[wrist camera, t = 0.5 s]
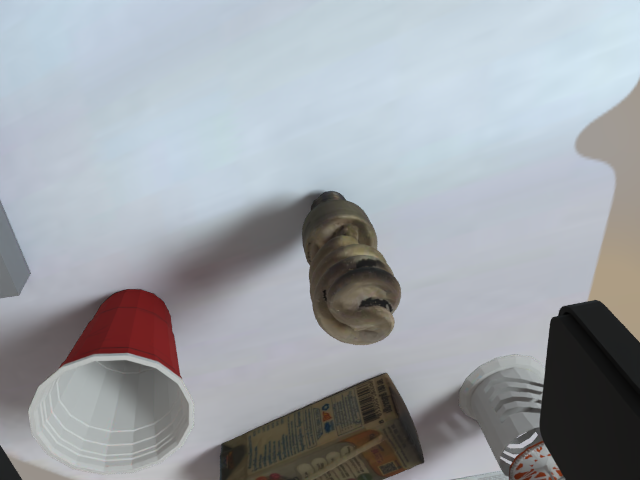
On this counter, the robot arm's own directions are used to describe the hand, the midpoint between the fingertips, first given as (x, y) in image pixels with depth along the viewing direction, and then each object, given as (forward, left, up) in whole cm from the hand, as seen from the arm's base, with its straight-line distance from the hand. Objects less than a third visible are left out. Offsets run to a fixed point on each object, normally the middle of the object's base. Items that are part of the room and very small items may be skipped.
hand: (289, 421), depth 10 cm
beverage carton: (+40, +2, -34) cm, 53 cm away
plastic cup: (+22, -12, -34) cm, 42 cm away
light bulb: (+14, +5, -34) cm, 37 cm away
